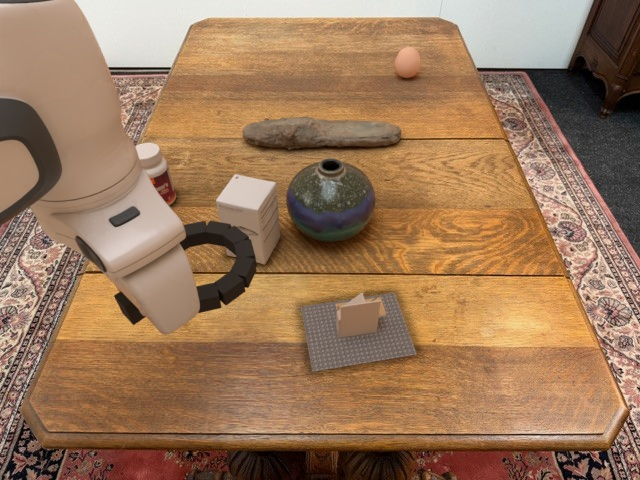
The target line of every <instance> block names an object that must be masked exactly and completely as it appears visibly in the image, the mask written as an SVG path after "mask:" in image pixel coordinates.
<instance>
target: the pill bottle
mask: <svg viewBox="0 0 640 480" xmlns="http://www.w3.org/2000/svg"><path fill="white" fill-rule="evenodd" d="M135 147H136V150H137V153H138V156H139V159H140V163H141V166H142V169H144V170H145V171H146V172H147V174H148V176H149V178H150V180H151V182H152V184H153V186H154V187H155V189H156V190H157V192H158V193H159V194H160V195H161V196H162V198H163V199H164V200H165V201H166V203H167V204H168V205H169V206H171V205H172V204H173V203H174V202H175V201H176V198H177V192H176V188H175V185H174V182H173V179H172V175H171V172H170V168H169V165H168V161H167V160H166V158H164V157H163V154H162V151H161V147H160V146H159V145H158V144H157V143H154V142H143V143H140V144H137V145H135Z"/></svg>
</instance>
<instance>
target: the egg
mask: <svg viewBox="0 0 640 480" xmlns="http://www.w3.org/2000/svg"><path fill="white" fill-rule="evenodd" d="M395 57H396V58H395V61H394V69H395V72H396V73H397V74H398V76H400V77H401V78H403V79H410V78H413V77H414V76H415V75H417V73H419V70H420V68H421V63H422V58H421V56H420V53H419V51H418V50H417V49H416V48H415V47H413V46H405V47H404V48H401V50H400V51H399V52H398V54H397V55H396V56H395Z"/></svg>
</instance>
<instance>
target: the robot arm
mask: <svg viewBox="0 0 640 480" xmlns="http://www.w3.org/2000/svg"><path fill="white" fill-rule="evenodd" d="M121 104H122V103H121V100H120V96H119V93H118V91H117V88H116V85H115V82H114V79H113V76H112V73H111V71H110V68H109V65H108V62H107V61H106V58H105V55H104V53H103V50H102V48H101V46H100V43H99V42H98V39H97V37H96V35H95V32H94V30H93V29H92V27H91V24H90V23H89V21H88V19H87V17H86V16H85V14H84V12H83V10H82V9H81V7H80V6H79V5H78V3H77V1H75V0H0V227H1V226H3V225H5V224H6V223H8V222H9V221H11V220H13V218H15V217H17V216H18V215H20V214H21V213H23V212H24V211H26V210H27V209H28V208H29V209H30V210H31V212H32V214H33V215H34V217H35V219H36V221H37V222H38V224H39V227H41V229H42V231H43V233H44V234H45V235H46V236H47V237H48V238H49V239H50V240H52V241H54V242H55V243H58V244H62V245H65V246H66V247H68V248H69V249H71V250H73V251H74V252H76V253H77V254H80V255H81V256H83V257H84V258H86V259H87V260H88V261H90V262H91V263H93V264H94V265H95V266H96V267H97V269H99V270H100V271H101V272H102V274H103V275H105V276H106V277H107V279H109V281H110V282H111V283H112V284H113V285H114V286H115V288H116V290H117V291H118V293H119V292H120V291H121V292H122V293H123V294H124V295H125V296H126V297H127V298H128V299H129V300H130V301H131V302H132V303H133V304H134V305H135V308H136V309H137V310H138V311H139V312H140V313H141V314H142V315H143V316H145V319H147V320H148V321H149V322H150V323H151V324H152V325H153V326H154V327H155V328H156V329H157V330H158V331H159V333H160V334H161V335H170V334H172V333H174V332H176V331H177V330H179V329H181V328H182V327H184V326H185V325H187V323H189V322H190V321H191V320H193V319H194V318H195V317H196V316H197V315H198V314H199V313H198V312H199V309H200V301H199V296H198V292H197V287H196V286H197V283H196V279H195V276H194V272H193V269H192V265H191V262H190V260H189V258H188V256H187V253H186V250H185V251H184V249H183V248H182V246H181V245H180V242H181V241H182V240H184V239H185V238H186V232H185V229H184V226H183V225H184V224H183V222H182V219H181V218H180V217H179V215H178V214H177V213H176V212H175V211H174V209H173V208H172V207H171V205H168V204H167V203H166V201H165V200H164V199H163V198H162V196H161V195H160V194H159V193H158V192H157V190H156V189H155V187H154V186H153V184H152V182H151V180H150V178H149V176H148V174H147V172H146V171H145V170H144V169H142V166H141V163H140V159H139V156H138V153H137V150H136V147H135V146H136V145H135V144H134V141H133V140H132V139H131V137H130V136H129V134H128V133H127V132H126V130H125V128H124V125H123V121H122V105H121Z"/></svg>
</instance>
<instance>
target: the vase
mask: <svg viewBox="0 0 640 480" xmlns="http://www.w3.org/2000/svg"><path fill="white" fill-rule="evenodd" d="M285 204H286V209H287V213H288V215H289V218H290V220H291V222H292V223H293V224H294V226H295V227H296V229H298V230H299V231H300V232H301V233H302V234H304V235H305V236H306V237H308V238H310V239H313V240H316V241H319V242H324V243H338V242H342V241H346V240H349V239H351V238H353V237H355V236H357V235H358V234H359V233H360V232H362V231H363V230H364V229H365V228H366V226H367V225H368V224H369V222H370V221H371V219H372V217H373V214H374V212H375V208H376V192H375V188H374V185H373V183H372V182H371V180H370V178H369V177H368V176H367V175H366V173H364V172H363V171H362V170H361V169H360V168H358V167H357V166H355V165H353V164H350V163H349V162H345V161H341V160H339V159H337V158H333V157H332V158H328V157H327V158H325V159H322V160H321V161H317V162H313V163H311V164H308V165H307V166H305V167H303V168H302V169H301V170H298V172H297V173H296V174H295V175H294V176H293V178H292V179H291V180H290V183H289V185H288V187H287V190H286V197H285Z"/></svg>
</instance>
